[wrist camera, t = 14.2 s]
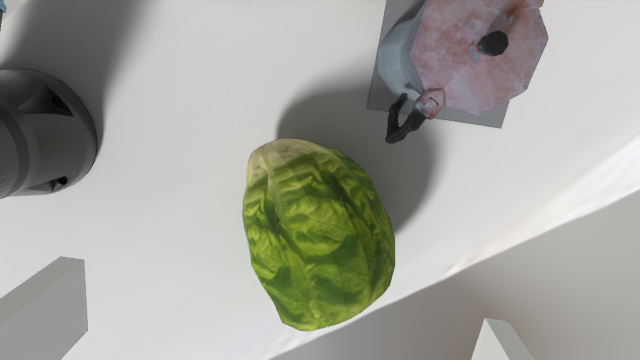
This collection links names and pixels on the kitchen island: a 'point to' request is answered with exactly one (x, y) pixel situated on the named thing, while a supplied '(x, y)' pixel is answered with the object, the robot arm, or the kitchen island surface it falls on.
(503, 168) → the kitchen island surface
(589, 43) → the kitchen island surface
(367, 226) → the lettuce
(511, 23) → the moka pot
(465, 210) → the kitchen island surface
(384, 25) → the mat
